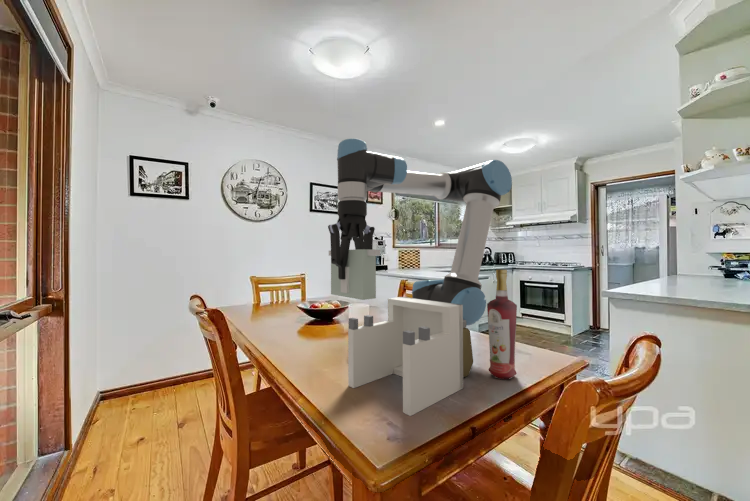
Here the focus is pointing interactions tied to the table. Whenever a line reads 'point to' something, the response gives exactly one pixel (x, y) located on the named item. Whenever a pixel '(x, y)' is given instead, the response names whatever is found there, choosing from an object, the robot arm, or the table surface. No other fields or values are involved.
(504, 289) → the liquor
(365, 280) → the door
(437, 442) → the table surface
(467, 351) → the squeeze bottle
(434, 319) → the cabinet
